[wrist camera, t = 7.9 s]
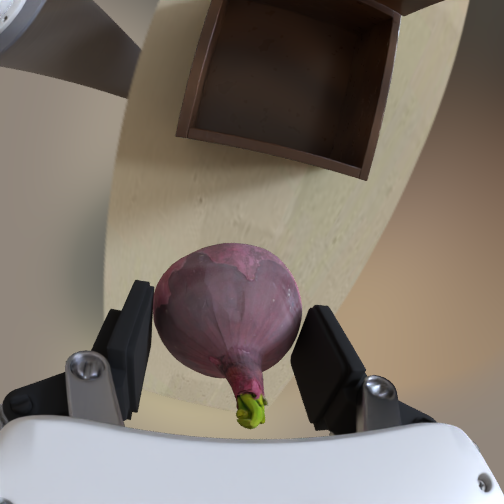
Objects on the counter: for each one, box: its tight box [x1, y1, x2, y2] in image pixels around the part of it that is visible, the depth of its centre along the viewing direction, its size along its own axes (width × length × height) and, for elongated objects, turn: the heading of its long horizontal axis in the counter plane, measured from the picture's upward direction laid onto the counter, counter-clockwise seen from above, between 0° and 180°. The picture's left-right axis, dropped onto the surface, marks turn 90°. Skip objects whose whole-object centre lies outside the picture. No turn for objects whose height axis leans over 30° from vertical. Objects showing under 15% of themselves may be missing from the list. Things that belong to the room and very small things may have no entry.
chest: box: [176, 0, 401, 181], centre depth 21 cm, size 16×15×8 cm
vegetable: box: [153, 243, 302, 429], centre depth 11 cm, size 6×6×10 cm
